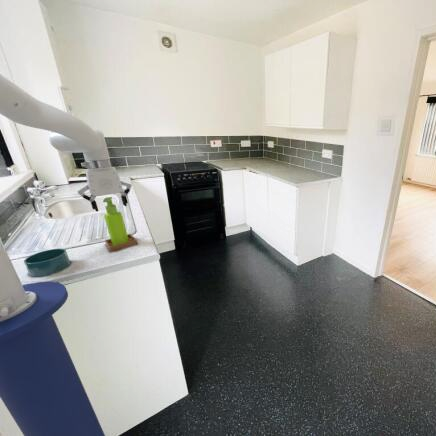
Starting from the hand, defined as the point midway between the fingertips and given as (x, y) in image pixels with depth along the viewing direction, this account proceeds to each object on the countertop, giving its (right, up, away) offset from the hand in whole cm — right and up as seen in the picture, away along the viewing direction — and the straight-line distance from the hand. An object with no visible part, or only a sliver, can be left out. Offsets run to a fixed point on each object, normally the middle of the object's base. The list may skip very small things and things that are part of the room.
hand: (111, 207), depth 98 cm
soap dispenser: (0, -15, +5) cm, 16 cm away
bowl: (-13, -22, -12) cm, 28 cm away
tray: (0, -15, +6) cm, 16 cm away
